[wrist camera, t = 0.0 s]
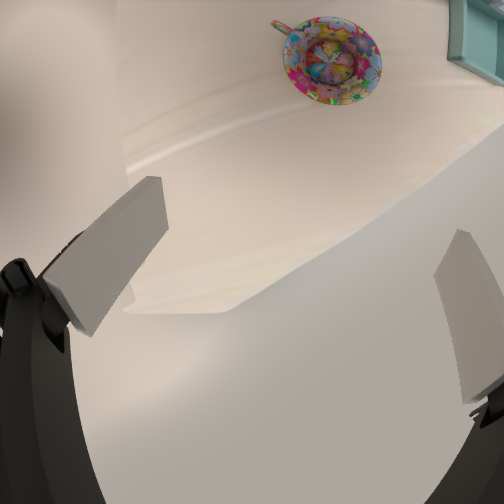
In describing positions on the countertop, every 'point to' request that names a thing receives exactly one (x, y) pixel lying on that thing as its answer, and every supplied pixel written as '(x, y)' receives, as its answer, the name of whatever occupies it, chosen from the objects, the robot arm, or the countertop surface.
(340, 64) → the mug
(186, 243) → the countertop surface
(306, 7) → the countertop surface
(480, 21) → the tray
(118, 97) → the countertop surface
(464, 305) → the robot arm
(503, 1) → the blue-grey ramp
